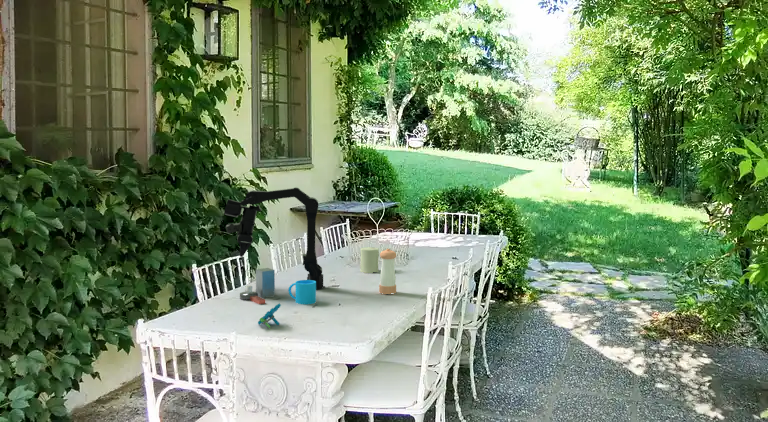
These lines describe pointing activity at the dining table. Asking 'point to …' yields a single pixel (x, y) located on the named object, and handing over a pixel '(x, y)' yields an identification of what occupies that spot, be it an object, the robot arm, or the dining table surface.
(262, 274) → the grey blue box
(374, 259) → the can
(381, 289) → the salt shaker
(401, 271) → the dining table surface
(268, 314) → the teal plastic angular piece
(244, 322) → the dining table surface
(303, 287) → the mug
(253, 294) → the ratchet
